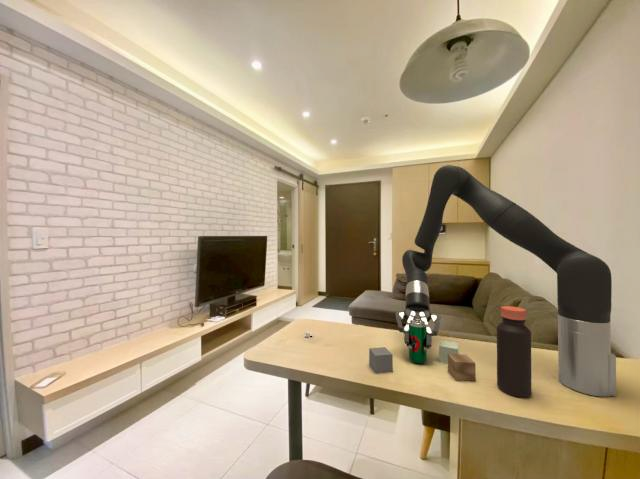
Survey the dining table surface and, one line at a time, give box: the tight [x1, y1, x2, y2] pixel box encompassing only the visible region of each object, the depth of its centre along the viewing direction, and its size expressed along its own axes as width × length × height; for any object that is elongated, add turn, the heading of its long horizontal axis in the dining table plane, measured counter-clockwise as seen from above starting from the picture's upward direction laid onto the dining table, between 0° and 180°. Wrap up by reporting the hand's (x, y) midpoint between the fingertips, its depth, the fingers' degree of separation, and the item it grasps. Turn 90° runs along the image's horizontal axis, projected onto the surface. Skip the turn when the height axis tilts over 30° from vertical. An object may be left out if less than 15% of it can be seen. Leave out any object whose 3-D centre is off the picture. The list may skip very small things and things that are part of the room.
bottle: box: [496, 305, 533, 399], centre depth 63 cm, size 7×7×20 cm
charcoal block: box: [368, 346, 394, 374], centre depth 74 cm, size 5×5×5 cm
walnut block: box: [447, 353, 476, 383], centre depth 70 cm, size 5×5×5 cm
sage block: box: [438, 339, 459, 365], centre depth 79 cm, size 5×5×5 cm
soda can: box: [408, 319, 428, 365], centre depth 78 cm, size 5×5×12 cm
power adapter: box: [304, 329, 314, 338], centre depth 98 cm, size 3×3×3 cm
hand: (417, 346), depth 77 cm, fingers closed on soda can, 5 cm apart
